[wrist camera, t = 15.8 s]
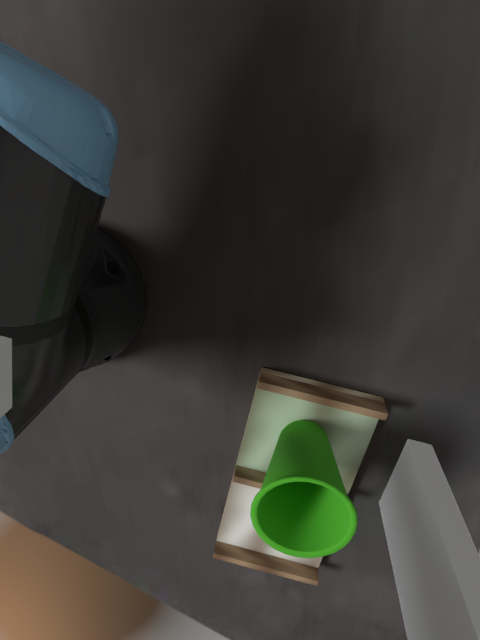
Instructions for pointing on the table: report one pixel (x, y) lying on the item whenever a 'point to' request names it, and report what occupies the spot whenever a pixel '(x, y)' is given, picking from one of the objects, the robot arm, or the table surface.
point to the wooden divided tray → (258, 447)
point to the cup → (303, 496)
